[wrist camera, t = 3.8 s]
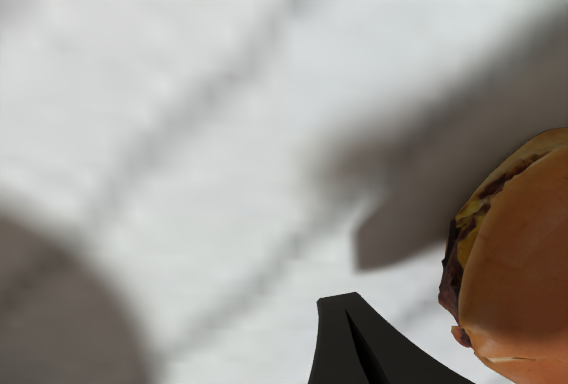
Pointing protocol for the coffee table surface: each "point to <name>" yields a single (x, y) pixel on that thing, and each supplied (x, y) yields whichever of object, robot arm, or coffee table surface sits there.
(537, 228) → the burger
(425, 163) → the coffee table surface
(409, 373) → the robot arm
